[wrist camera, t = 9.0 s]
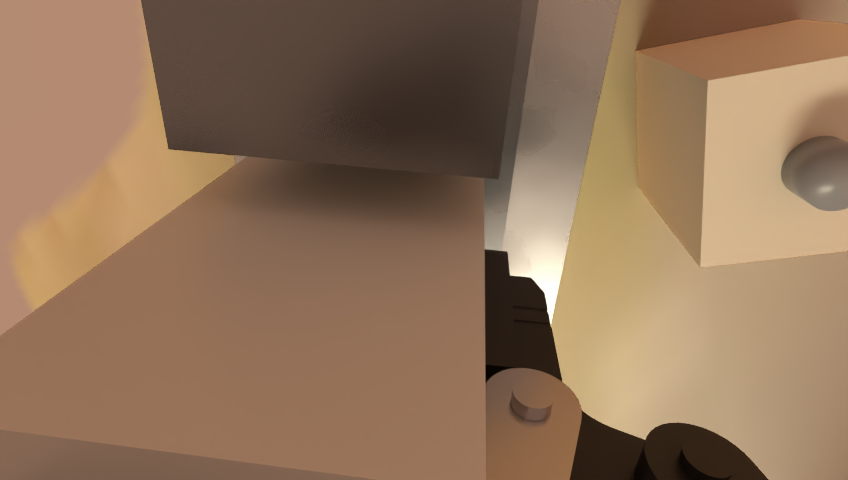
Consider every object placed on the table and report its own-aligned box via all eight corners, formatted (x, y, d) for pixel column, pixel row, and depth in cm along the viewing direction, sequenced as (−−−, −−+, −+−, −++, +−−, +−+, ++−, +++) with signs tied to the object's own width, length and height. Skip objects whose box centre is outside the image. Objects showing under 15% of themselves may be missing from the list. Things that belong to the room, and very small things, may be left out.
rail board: (664, -282, 11) (1223, -1134, 3) (516, 442, 21) (535, 729, 13) (211, -293, 11) (-461, -979, 3) (282, 411, 21) (161, 665, 13)
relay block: (798, 19, 13) (1009, 39, 8) (782, 165, 14) (945, 263, 9) (635, 50, 14) (726, 88, 8) (637, 186, 15) (715, 287, 10)
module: (483, 151, 11) (486, 535, 3) (462, 338, 13) (434, 811, 5) (277, 134, 11) (-155, 447, 3) (292, 319, 13) (51, 744, 6)
